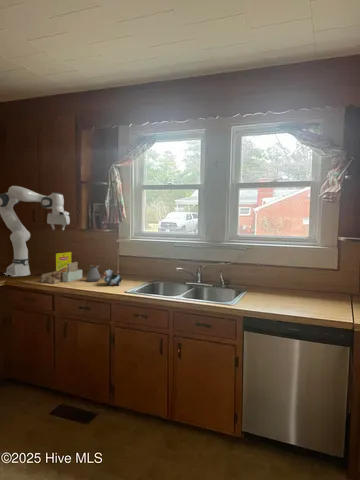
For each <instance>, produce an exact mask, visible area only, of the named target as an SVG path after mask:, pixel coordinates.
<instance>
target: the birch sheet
mask: <svg viewBox="0 0 360 480" xmlns="http://www.w3.org/2000/svg"><path fill="white" fill-rule="evenodd" d="M78 264H79V263H78V261H74V262H71V263H69V264H67V273H70V272H74V271H78V269H79V268H78Z"/></svg>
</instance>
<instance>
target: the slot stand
mask: <svg viewBox="0 0 360 480" xmlns="http://www.w3.org/2000/svg"><path fill="white" fill-rule="evenodd" d="M80 279H83V269H79V268H78V271H74V272H70V273H67V272H64V273H63V281H62V282H63V283H70V282H73V281H77V280H80Z"/></svg>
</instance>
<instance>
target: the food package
mask: <svg viewBox="0 0 360 480" xmlns="http://www.w3.org/2000/svg"><path fill="white" fill-rule="evenodd" d="M69 263H72V251H69V252H59V253H55V271H62V273H64V272H67V264H69Z"/></svg>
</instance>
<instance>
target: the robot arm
mask: <svg viewBox="0 0 360 480" xmlns="http://www.w3.org/2000/svg"><path fill="white" fill-rule="evenodd" d="M21 201H22V202H24V203H25V202H27V203H30V202H31V203H32V202H36V203H40V205H41V207H42V208H44V209H51V210H52V211H51V212H48V213H47V218H46V223H47V225H50V227H51V229H52V230H53V231H55V230H56V227H55V225H62V227H61V230H62V231H65V227H66V226H67V225H70V222H71V221H70V220H71V219H70V216H69V215H70V212H68V211H66V210H65V209H64V204H65V200H64V195H63V193H61V192H55V191H54V192H51V194H49V195H44V194H42V193H41V194H40V193H38V192H35V191H34V190H31V189H28V188H25V187H23V186H19V185H11V186H10V187H9V188H8V190H7V192H3V193H0V218H2V220H3V222H4V223H5V226H6V227H7V228H8V229H9V230H10V231H11V234H10V235H9V239H10V241H11V243H12V247H13V258H12V259H11V261H12V263H11V264H10V265H8V266H7V267H6V272H4V273H3V274H5V275H4V276H8V275H10V276H9V277H24V276H25V277H26V276H30V275H31V270H30V264H29V261H30V260H29V259H30V258H29V249H28V247H27V243H26V242H27V241H29V240H30V239H31V232H30V231H29V230H28V229H27V228H26V227H25V225H23V223H22V222H21V220H20V219H19V217H18V215H17V213H16V212H15V210H14V207H16V206H17V205H18V204H19V203H20V202H21Z"/></svg>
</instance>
